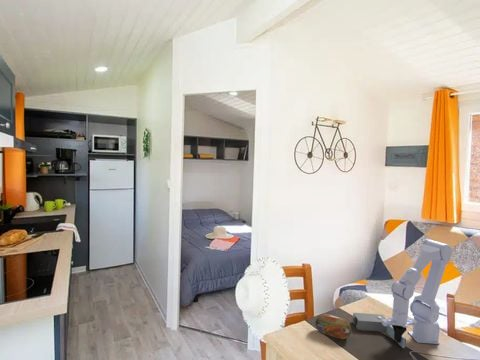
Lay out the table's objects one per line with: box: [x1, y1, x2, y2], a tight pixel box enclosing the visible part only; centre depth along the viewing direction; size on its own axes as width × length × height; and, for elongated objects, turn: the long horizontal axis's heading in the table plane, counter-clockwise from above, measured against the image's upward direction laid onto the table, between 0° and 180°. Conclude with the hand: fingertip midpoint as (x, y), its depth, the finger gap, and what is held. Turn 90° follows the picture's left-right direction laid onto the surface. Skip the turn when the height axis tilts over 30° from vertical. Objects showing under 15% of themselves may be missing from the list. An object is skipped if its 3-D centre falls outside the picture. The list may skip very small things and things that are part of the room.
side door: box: [385, 325, 407, 349], centre depth 127 cm, size 11×1×4 cm, turn 7°
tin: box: [315, 313, 352, 340], centre depth 128 cm, size 15×3×8 cm, turn 62°
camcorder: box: [351, 312, 387, 333], centre depth 136 cm, size 15×7×5 cm, turn 88°
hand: (397, 341), depth 124 cm, fingers closed
